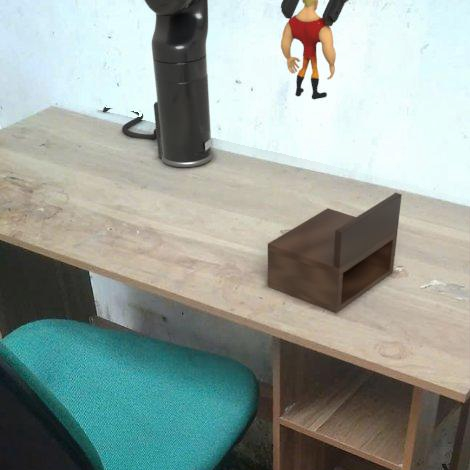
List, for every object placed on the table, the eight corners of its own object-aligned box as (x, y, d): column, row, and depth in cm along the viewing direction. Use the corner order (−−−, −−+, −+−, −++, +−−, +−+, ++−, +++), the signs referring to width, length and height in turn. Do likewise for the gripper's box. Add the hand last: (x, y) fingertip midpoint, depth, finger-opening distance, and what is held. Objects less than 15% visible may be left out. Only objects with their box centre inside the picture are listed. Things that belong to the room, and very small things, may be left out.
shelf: (267, 286, 113) (267, 207, 105) (325, 249, 121) (329, 173, 112) (336, 313, 107) (341, 232, 99) (393, 272, 115) (401, 194, 107)
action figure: (341, 97, 124) (346, -16, 113) (329, 104, 122) (333, -10, 111) (290, 88, 128) (290, -22, 117) (278, 94, 126) (276, -17, 115)
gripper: (305, -117, 114) (255, -5, 116) (391, -111, 107) (336, 8, 110) (325, -78, 121) (278, 28, 123) (407, -70, 114) (355, 42, 116)
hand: (305, 18), depth 116 cm, fingers closed on action figure, 7 cm apart
